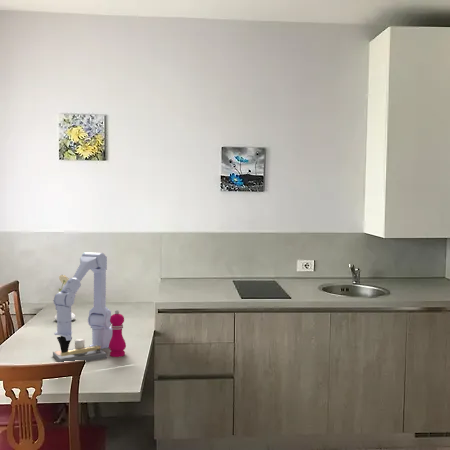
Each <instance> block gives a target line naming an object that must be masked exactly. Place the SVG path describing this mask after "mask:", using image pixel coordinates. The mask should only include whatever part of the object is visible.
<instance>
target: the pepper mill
mask: <svg viewBox="0 0 450 450" xmlns="http://www.w3.org/2000/svg"><path fill="white" fill-rule="evenodd" d="M110 322H111V326H110V327H111V329H112V331H113V333H112V338H111V340H110V343H109V348H108V349H109V350H110V352H109V355H110V357H112V358H120V357H124V356H125V354H126V351H125V349H126V347H127V345H126V344H127V343H126V340H125V339H124V336H123V329H124V325H123V323H124V322H125V317H124V315H123V314H121V313H120V311H119V310H118V309H116V310H115V311H114V314H111V318H110Z"/></svg>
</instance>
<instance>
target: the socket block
mask: <svg viewBox="0 0 450 450" xmlns="http://www.w3.org/2000/svg"><path fill="white" fill-rule="evenodd" d="M88 347H93V346H84V348H88ZM74 349H75V348H70V349H69V348H68V351H70V350H74ZM52 357H53V358H54V359H55V360H56V362H57V363H59V362H64V361H75V360H86V361H85V362H90V361H96V360H102V359H107V357H108V355H107V352H105V351H104V350H103V349H101V350H95V351H89V352H87V353H86V354H81V355H75V354H73V355H67V356H61V350H56V351H52Z"/></svg>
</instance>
